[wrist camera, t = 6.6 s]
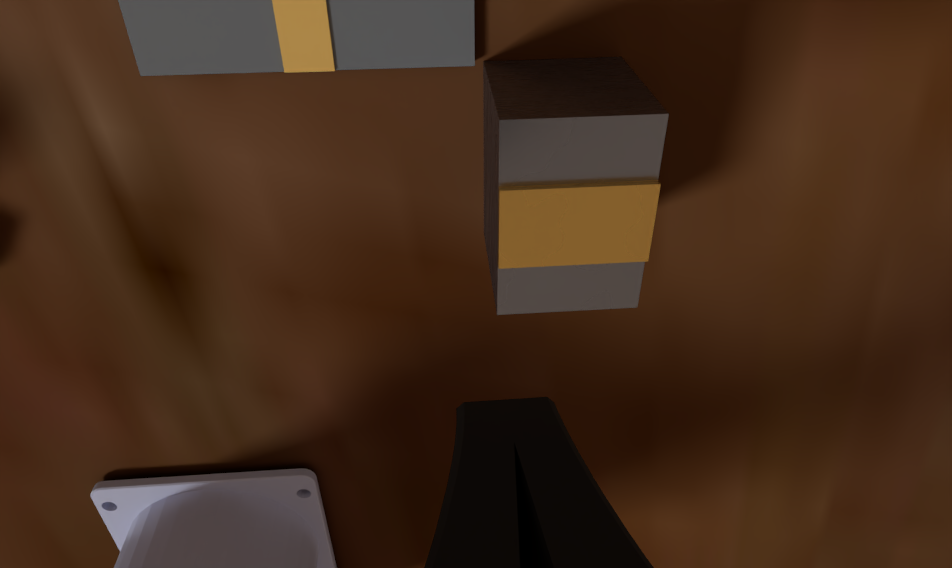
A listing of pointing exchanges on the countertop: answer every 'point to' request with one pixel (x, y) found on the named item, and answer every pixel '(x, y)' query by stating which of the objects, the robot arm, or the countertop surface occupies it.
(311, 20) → the pad
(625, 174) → the link
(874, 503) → the countertop surface
